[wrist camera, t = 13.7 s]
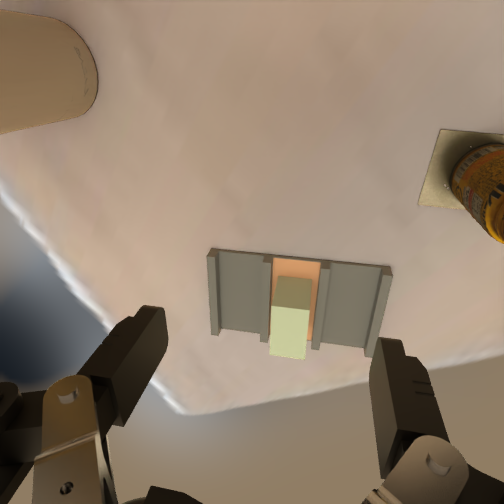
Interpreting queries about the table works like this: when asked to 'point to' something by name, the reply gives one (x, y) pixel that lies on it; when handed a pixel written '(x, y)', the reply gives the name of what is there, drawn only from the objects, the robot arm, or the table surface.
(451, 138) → the condiment
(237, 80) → the table surface
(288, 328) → the plug
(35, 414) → the robot arm
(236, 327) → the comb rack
